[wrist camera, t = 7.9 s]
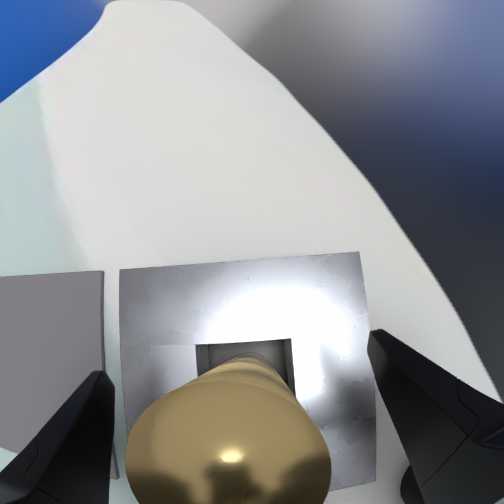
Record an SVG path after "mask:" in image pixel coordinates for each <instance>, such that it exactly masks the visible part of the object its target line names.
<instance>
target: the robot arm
mask: <svg viewBox="0 0 504 504" xmlns="http://www.w3.org/2000/svg"><path fill="white" fill-rule="evenodd" d="M367 354H368V357H369V360H370V363H371V367H372V370H373V373H374V376H375V379H376V382H377V386H378V389H379V392H380V394H381V396H382V399H383V401H384V403H385V405H386V408H387V410H388V412H389V415H390V417H391V419H392V422H393V424H394V426H395V429H396V431H397V433H398V436H399V438H400V440H401V443H402V445H403V448H404V450H405V452H406V455H407V457H408V460H409V462H410V465H411V467H412V470H413V472H414V475H415V477H416V480H417V482H418V485H419V488H420V491H421V493H422V496H423V499H424V501H425V504H504V404H502V403H500V402H498V401H496V400H494V399H492V398H490V397H488V396H487V395H485V394H483V393H481V392H479V391H477V390H476V389H474V388H472V387H471V386H469V385H468V384H466V383H464V382H463V381H461V380H460V379H457V377H455V376H454V375H452V374H451V373H449V372H448V371H446V370H444V369H443V368H441V367H440V366H438V365H437V364H435V363H434V362H432V361H431V360H429V359H428V358H426V357H425V356H423V355H422V354H420V353H418V352H417V351H415V350H414V349H412V348H411V347H409V346H408V345H406V344H405V343H403V342H402V341H400V340H399V339H397V338H395V337H394V336H392V335H391V334H389V333H388V332H386V331H385V330H383V329H377V330H373V331H371V332H370V333H369V338H368V344H367ZM114 415H115V388H114V385H113V383H112V381H111V380H110V378H109V377H108V375H107V374H106V372H105V371H104V370H94V371H92V372H91V373H90V374H89V376H88V377H87V378H86V379H85V380H84V381H83V382H82V383H81V384H80V385H79V387H78V388H77V389H76V390H75V391H74V392H73V393H72V394H71V396H70V397H69V398H68V399H67V400H66V401H65V402H64V403H63V405H62V406H61V407H60V408H59V409H58V410H57V411H56V412H55V414H54V415H53V416H52V417H51V418H50V419H49V420H48V422H47V423H46V424H45V425H44V426H43V427H42V428H41V430H40V431H39V432H38V433H37V435H35V437H34V438H33V439H32V440H31V441H30V442H29V443H28V445H27V446H26V447H25V448H24V449H23V450H22V451H21V452H20V453H19V454H18V455H17V456H16V457H15V458H14V459H13V460H12V461H11V462H10V463H9V464H8V465H7V466H6V467H5V468H4V469H3V470H2V471H1V472H0V504H109V485H110V469H111V457H112V446H113V436H114Z"/></svg>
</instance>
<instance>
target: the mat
mask: <svg viewBox="0 0 504 504" xmlns="http://www.w3.org/2000/svg"><path fill="white" fill-rule="evenodd" d="M103 287H104V272H103V271H101V270H100V271H85V272H70V273H54V274H39V275H23V276H6V277H0V447H2V448H4V449H7V450H9V451H12V452H15V453H17V454H19V453H20V452H21V451H22V450H23V449H24V448H25V447H26V446H27V445H28V443H29V442H30V441H31V440H32V439H33V438H34V437H35V435H37V433H38V432H39V431H40V430H41V428H42V427H43V426H44V425H45V424H46V423H47V422H48V420H49V419H50V418H51V417H52V416H53V415H54V414H55V412H56V411H57V410H58V409H59V408H60V407H61V406H62V405H63V403H64V402H65V401H66V400H67V399H68V398H69V397H70V396H71V394H72V393H73V392H74V391H75V390H76V389H77V388H78V387H79V385H80V384H81V383H82V382H83V381H84V380H85V379H86V378H87V377H88V376H89V374H90V373H91V372H92V371H94V370H104V371H105V358H104V332H103ZM110 478H111V479H118V478H119V474H118V468H117V463H116V457H115V451H114V445H113V446H112V457H111V469H110Z"/></svg>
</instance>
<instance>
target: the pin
mask: <svg viewBox="0 0 504 504" xmlns="http://www.w3.org/2000/svg"><path fill="white" fill-rule="evenodd" d="M125 469H126V474H127V478H128V481H129V484H130V487H131V490H132V492H133V493H134V495H135V497H136V499H137V501H138V502H139V504H323V503H324V500H325V498H326V496H327V494H328V490H329V487H330V483H331V474H332V468H331V458H330V453H329V449H328V447H327V444H326V442H325V439H324V437H323V436H322V434H321V432H320V430H319V429H318V427H317V426H316V425H315V423H314V422H313V421H312V419H311V418H310V417H309V415H308V414H307V412H306V411H305V410H304V408H303V407H302V406H301V404H300V403H299V402H298V400H297V399H296V397H295V396H294V395H293V393H292V392H291V390H290V389H289V388H288V386H287V385H286V384H285V382H284V381H283V379H282V378H281V377H280V375H279V374H278V372H277V371H276V369H275V368H274V367H273V365H272V364H271V363H270V362H269V360H267V359H266V358H265V357H263V356H261V355H259V354H255V353H242V354H239V355H237V356H235V357H233V358H231V359H229V360H228V361H226V362H224V363H222V364H221V365H219V366H217V367H215V368H214V369H212V370H210V371H208V372H206V373H205V374H203V375H201V376H199V377H197V378H195V379H194V380H192V381H190V382H188V383H186V384H184V385H182V386H180V387H179V388H177V389H175V390H173V391H171V392H169V393H167V394H165V395H164V396H162V397H161V398H159V399H157V400H156V401H155V402H153V403H152V404H151V405H150V406H149V407H147V408H146V410H145V411H144V412H143V413H142V414H141V415H140V416H139V418H138V419H137V421H136V422H135V424H134V425H133V427H132V430H131V432H130V434H129V436H128V440H127V444H126V450H125Z"/></svg>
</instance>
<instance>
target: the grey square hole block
mask: <svg viewBox="0 0 504 504" xmlns="http://www.w3.org/2000/svg"><path fill="white" fill-rule="evenodd" d="M119 328H120V354H121V371H122V384H123V396H124V406H125V415H126V423H127V431H128V436H129V434H130V432H131V430H132V427H133V425H134V424H135V422H136V421H137V419H138V418H139V416H140V415H141V414H142V413H143V412H144V411H145V410H146V408H147V407H149V406H150V405H151V404H152V403H153V402H155V401H156V400H157V399H159V398H161V397H162V396H164V395H165V394H167V393H169V392H171V391H173V390H175V389H177V388H179V387H180V386H182V385H184V384H186V383H188V382H190V381H192V380H194V379H195V378H197V377H199V376H201V375H203V374H205V373H206V372H208V371H210V363H209V349H208V345H209V344H228V343H244V342H258V341H270V340H282V339H284V345H285V357H286V369H287V382H288V388H289V389H290V390H291V392H292V393H293V395H294V396H295V397H296V399H297V400H298V402H299V403H300V404H301V406H302V407H303V408H304V410H305V411H306V412H307V414H308V415H309V417H310V418H311V419H312V421H313V422H314V423H315V425H316V426H317V427H318V429H319V430H320V432H321V434H322V436H323V437H324V439H325V442H326V444H327V447H328V449H329V453H330V458H331V468H332V474H331V483H330V487H329V490H328V491H333V490H338V489H343V488H348V487H352V486H357V485H361V484H365V483H370V482H373V481H376V410H375V388H374V373H373V370H372V367H371V363H370V360H369V357H368V354H367V344H368V338H369V333H370V327H369V318H368V310H367V302H366V294H365V287H364V280H363V273H362V266H361V260H360V254H359V252H347V253H335V254H322V255H310V256H297V257H284V258H272V259H259V260H246V261H232V262H219V263H205V264H192V265H178V266H164V267H150V268H135V269H121V270H120V275H119Z"/></svg>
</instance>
